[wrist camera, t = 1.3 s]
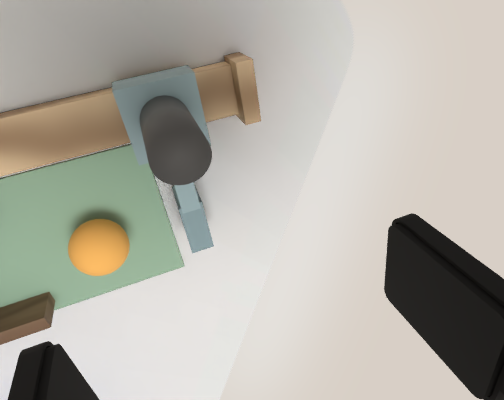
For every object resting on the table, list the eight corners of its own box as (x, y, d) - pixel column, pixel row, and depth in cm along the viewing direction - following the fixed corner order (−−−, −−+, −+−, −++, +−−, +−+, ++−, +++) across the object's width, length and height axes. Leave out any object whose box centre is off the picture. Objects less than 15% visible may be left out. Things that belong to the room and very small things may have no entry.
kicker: (111, 77, 24) (113, 123, 16) (183, 61, 25) (218, 96, 17) (167, 234, 32) (186, 317, 24) (221, 217, 33) (257, 291, 25)
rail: (-122, 134, 22) (-151, 152, 20) (239, 52, 27) (252, 59, 24) (-76, 194, 24) (-96, 217, 22) (248, 109, 29) (261, 120, 27)
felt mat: (-163, 221, 24) (-165, 223, 23) (141, 141, 28) (142, 142, 27) (-45, 342, 31) (-46, 344, 31) (183, 264, 35) (184, 266, 34)
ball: (61, 218, 28) (54, 252, 25) (117, 201, 29) (119, 232, 26) (83, 259, 31) (80, 296, 27) (135, 243, 32) (138, 276, 28)
